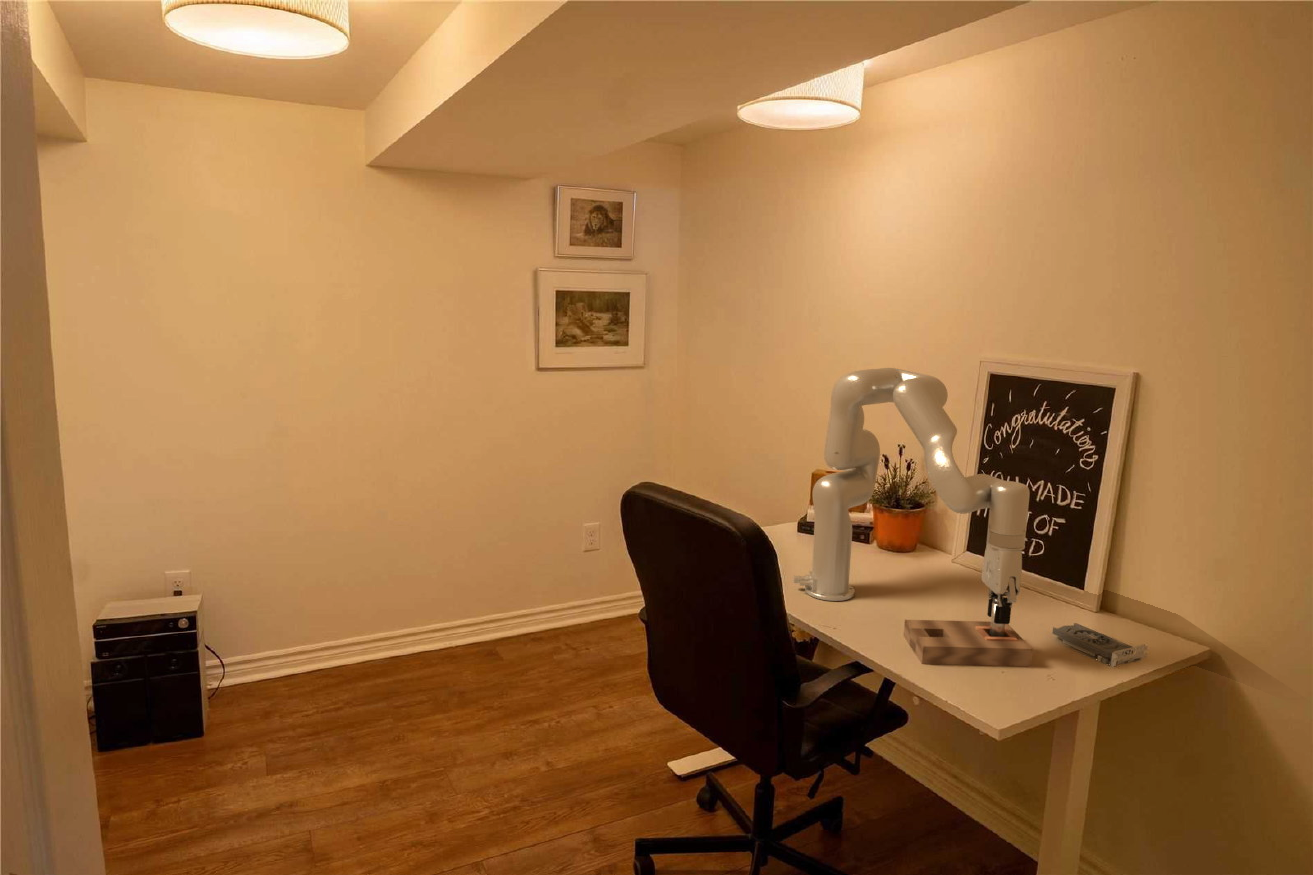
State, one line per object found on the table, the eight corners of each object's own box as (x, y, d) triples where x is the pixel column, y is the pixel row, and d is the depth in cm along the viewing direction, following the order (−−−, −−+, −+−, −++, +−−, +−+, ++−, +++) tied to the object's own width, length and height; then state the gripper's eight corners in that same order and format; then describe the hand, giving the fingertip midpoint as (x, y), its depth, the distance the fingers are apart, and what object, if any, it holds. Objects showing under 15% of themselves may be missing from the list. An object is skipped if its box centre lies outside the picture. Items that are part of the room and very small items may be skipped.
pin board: (921, 663, 176) (923, 644, 175) (903, 636, 189) (904, 617, 188) (1030, 666, 175) (1032, 647, 174) (1004, 638, 189) (1006, 620, 188)
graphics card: (1152, 645, 180) (1115, 654, 174) (1150, 662, 180) (1113, 670, 175) (1084, 618, 195) (1048, 624, 189) (1082, 633, 195) (1046, 640, 190)
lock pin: (992, 644, 180) (996, 601, 178) (986, 638, 183) (990, 595, 181) (1005, 644, 180) (1010, 601, 178) (1000, 638, 183) (1004, 596, 181)
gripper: (974, 527, 185) (967, 605, 189) (1003, 550, 169) (995, 635, 173) (1008, 528, 185) (1000, 606, 189) (1040, 551, 169) (1031, 636, 173)
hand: (998, 619), depth 181 cm, fingers closed on lock pin, 3 cm apart
